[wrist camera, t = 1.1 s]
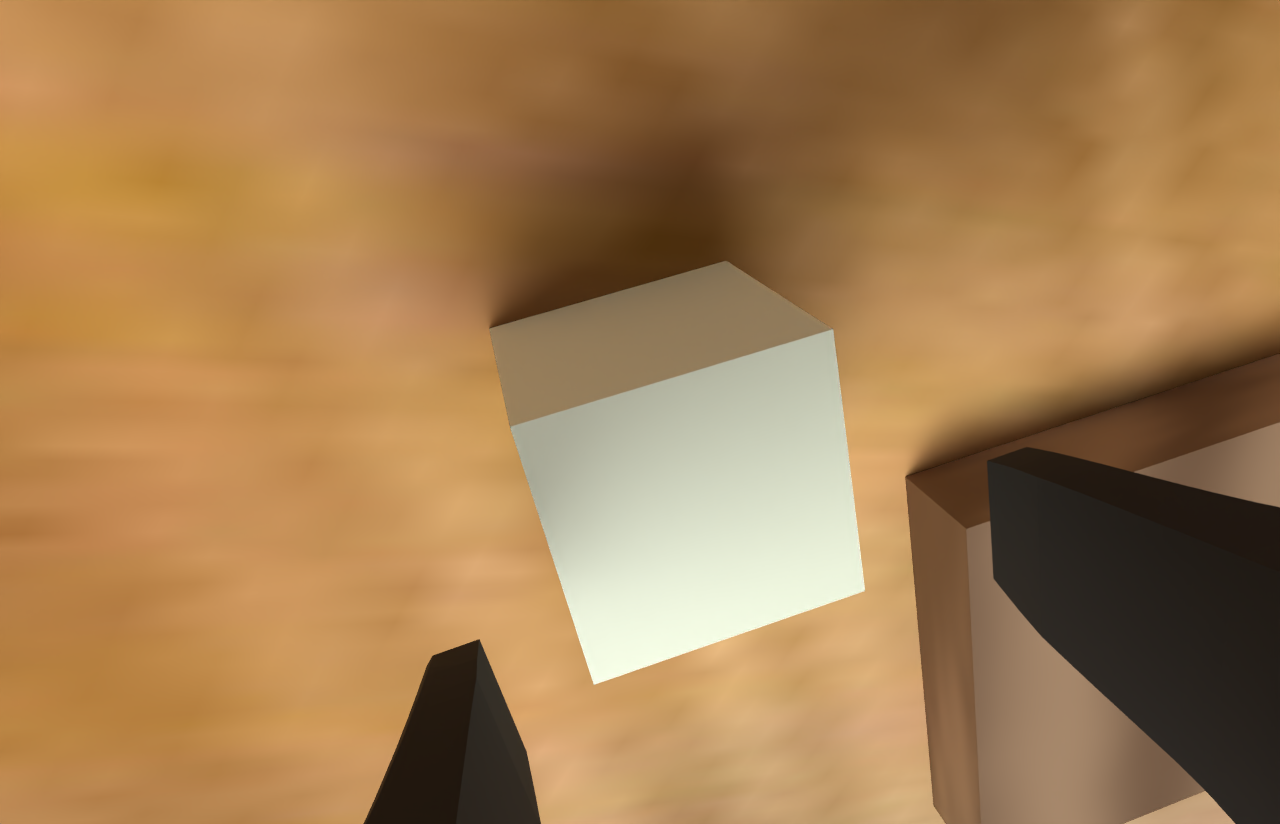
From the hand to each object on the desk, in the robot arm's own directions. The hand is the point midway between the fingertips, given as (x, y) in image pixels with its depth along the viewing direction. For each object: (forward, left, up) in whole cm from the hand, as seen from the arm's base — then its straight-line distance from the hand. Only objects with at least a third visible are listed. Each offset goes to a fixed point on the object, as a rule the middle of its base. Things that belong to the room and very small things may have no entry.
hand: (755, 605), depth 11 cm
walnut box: (-12, +10, -8) cm, 17 cm away
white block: (0, 0, -7) cm, 7 cm away
